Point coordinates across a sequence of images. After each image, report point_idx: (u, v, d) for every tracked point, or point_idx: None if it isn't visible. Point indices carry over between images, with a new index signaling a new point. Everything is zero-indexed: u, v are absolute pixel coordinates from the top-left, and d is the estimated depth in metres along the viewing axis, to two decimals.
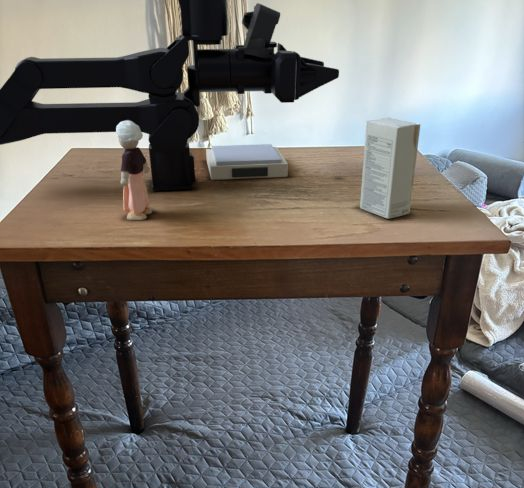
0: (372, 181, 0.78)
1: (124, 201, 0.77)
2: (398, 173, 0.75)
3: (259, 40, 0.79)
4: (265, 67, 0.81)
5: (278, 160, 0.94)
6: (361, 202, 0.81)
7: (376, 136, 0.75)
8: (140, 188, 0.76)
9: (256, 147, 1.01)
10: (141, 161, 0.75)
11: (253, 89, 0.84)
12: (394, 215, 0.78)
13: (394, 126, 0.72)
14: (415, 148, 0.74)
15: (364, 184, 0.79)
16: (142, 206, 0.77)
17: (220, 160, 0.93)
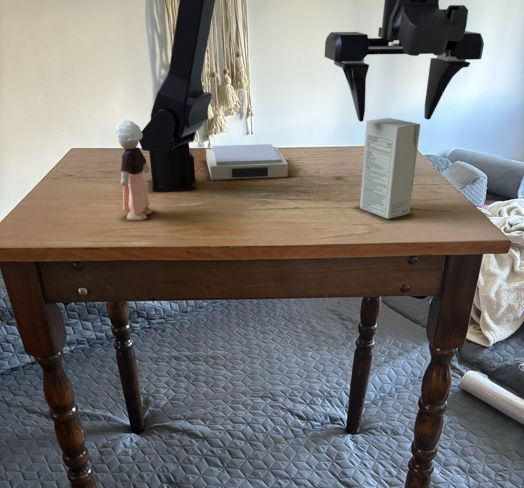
0: (372, 181, 0.78)
1: (124, 201, 0.77)
2: (397, 173, 0.75)
3: (397, 22, 0.64)
4: (385, 29, 0.67)
5: (278, 160, 0.94)
6: (361, 202, 0.81)
7: (376, 136, 0.75)
8: (140, 188, 0.76)
9: (256, 147, 1.01)
10: (141, 161, 0.75)
11: None
12: (394, 215, 0.78)
13: (394, 126, 0.72)
14: (415, 148, 0.74)
15: (364, 184, 0.79)
16: (142, 206, 0.77)
17: (220, 160, 0.93)
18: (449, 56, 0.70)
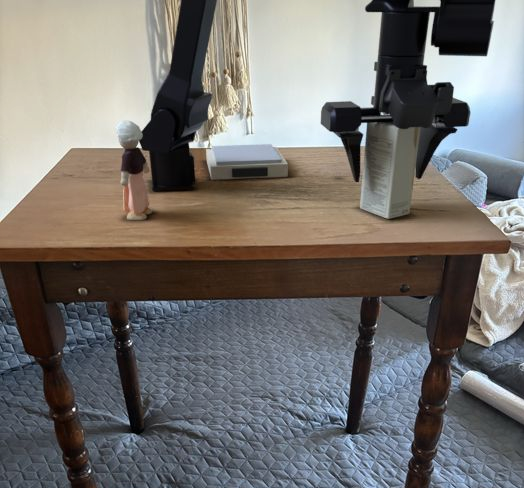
0: (372, 181, 0.78)
1: (124, 201, 0.77)
2: (398, 173, 0.75)
3: (388, 97, 0.68)
4: (377, 100, 0.72)
5: (278, 160, 0.94)
6: (361, 202, 0.81)
7: (376, 137, 0.75)
8: (140, 188, 0.76)
9: (256, 147, 1.01)
10: (141, 161, 0.75)
11: None
12: (394, 215, 0.78)
13: (395, 126, 0.72)
14: (415, 148, 0.74)
15: (364, 184, 0.79)
16: (142, 206, 0.77)
17: (220, 160, 0.93)
18: (437, 123, 0.74)
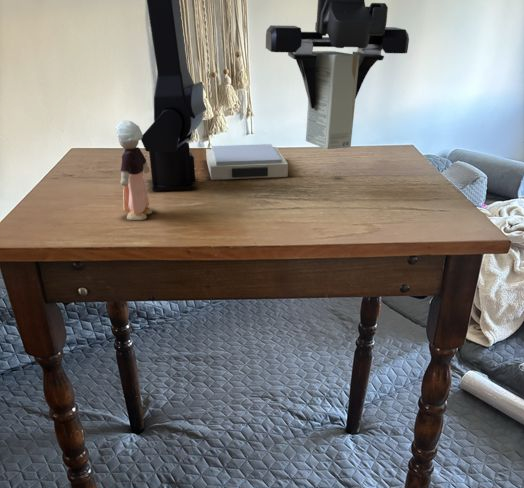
0: (315, 112, 0.81)
1: (124, 201, 0.77)
2: (336, 102, 0.77)
3: (326, 17, 0.71)
4: (318, 23, 0.74)
5: (278, 160, 0.94)
6: (306, 135, 0.84)
7: (318, 66, 0.78)
8: (140, 188, 0.76)
9: (256, 147, 1.01)
10: (141, 161, 0.75)
11: None
12: (334, 146, 0.81)
13: (332, 54, 0.75)
14: (354, 79, 0.77)
15: (309, 116, 0.82)
16: (142, 206, 0.77)
17: (220, 160, 0.93)
18: (365, 50, 0.76)
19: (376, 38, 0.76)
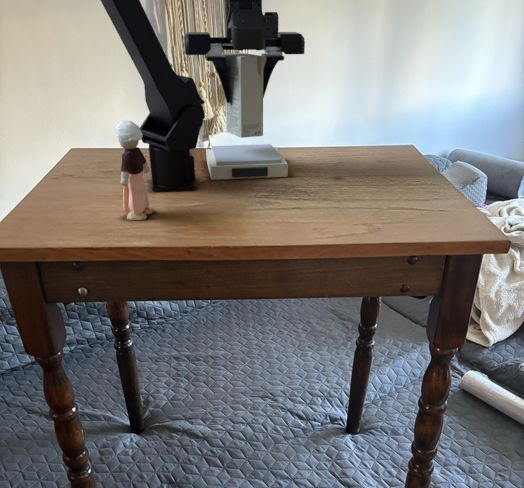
0: (230, 106, 0.93)
1: (124, 201, 0.77)
2: (245, 97, 0.90)
3: (229, 25, 0.83)
4: (226, 30, 0.87)
5: (278, 160, 0.94)
6: (226, 126, 0.97)
7: (229, 66, 0.90)
8: (140, 188, 0.76)
9: (256, 147, 1.01)
10: (141, 161, 0.75)
11: None
12: (247, 135, 0.93)
13: (239, 56, 0.87)
14: (260, 77, 0.90)
15: (226, 110, 0.95)
16: (142, 206, 0.77)
17: (220, 160, 0.93)
18: (268, 52, 0.89)
19: (278, 41, 0.89)
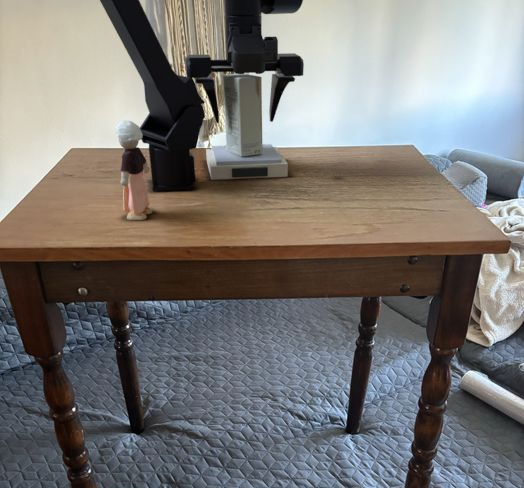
0: (230, 125, 0.95)
1: (124, 201, 0.77)
2: (245, 117, 0.92)
3: (230, 48, 0.85)
4: (226, 53, 0.88)
5: (278, 160, 0.94)
6: (226, 144, 0.98)
7: (228, 87, 0.92)
8: (140, 188, 0.76)
9: None
10: (141, 161, 0.75)
11: None
12: (247, 154, 0.95)
13: (237, 77, 0.89)
14: (259, 97, 0.91)
15: (226, 129, 0.97)
16: (142, 206, 0.77)
17: (220, 160, 0.93)
18: (279, 73, 0.91)
19: None
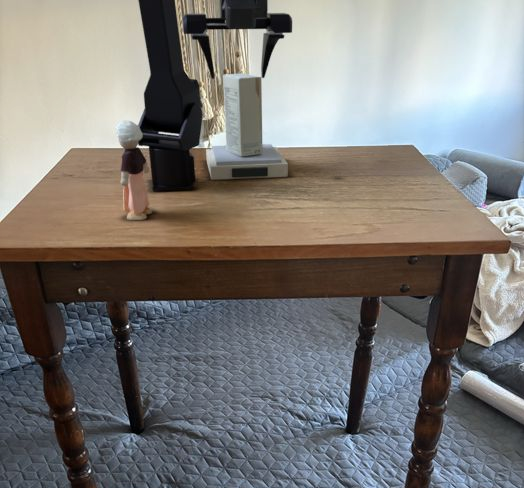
0: (230, 125, 0.95)
1: (124, 201, 0.77)
2: (245, 117, 0.92)
3: (223, 6, 0.92)
4: (220, 11, 0.95)
5: (278, 160, 0.94)
6: (226, 144, 0.98)
7: (228, 87, 0.92)
8: (140, 188, 0.76)
9: None
10: (141, 161, 0.75)
11: None
12: (247, 154, 0.95)
13: (237, 77, 0.89)
14: (259, 97, 0.91)
15: (226, 129, 0.97)
16: (142, 206, 0.77)
17: (220, 160, 0.93)
18: (270, 31, 0.97)
19: None
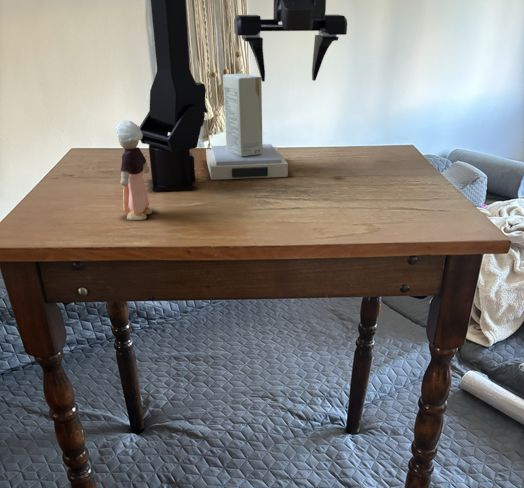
0: (230, 125, 0.95)
1: (124, 201, 0.77)
2: (245, 117, 0.92)
3: (279, 7, 0.90)
4: (274, 12, 0.93)
5: (278, 160, 0.94)
6: (226, 144, 0.98)
7: (228, 87, 0.92)
8: (140, 188, 0.76)
9: None
10: (141, 161, 0.75)
11: None
12: (247, 154, 0.95)
13: (237, 77, 0.89)
14: (259, 97, 0.91)
15: (226, 129, 0.97)
16: (142, 206, 0.77)
17: (220, 160, 0.93)
18: (323, 32, 0.95)
19: None
